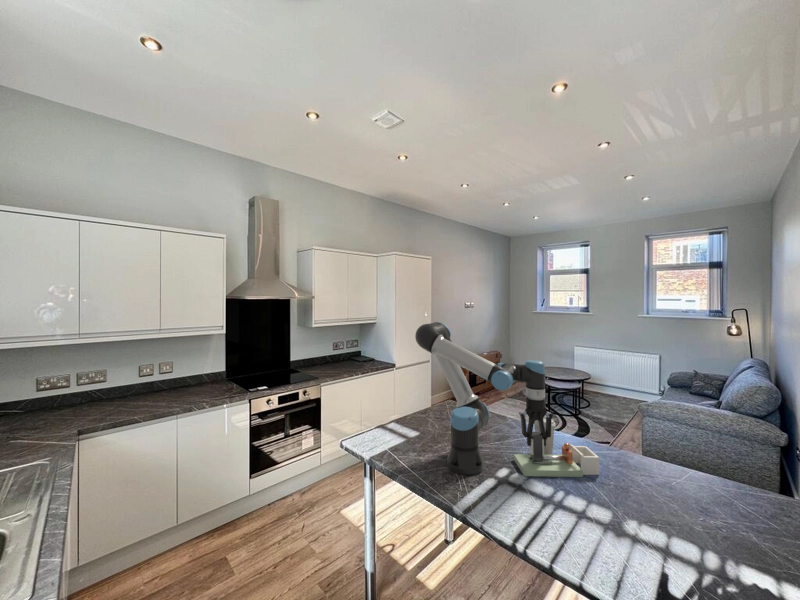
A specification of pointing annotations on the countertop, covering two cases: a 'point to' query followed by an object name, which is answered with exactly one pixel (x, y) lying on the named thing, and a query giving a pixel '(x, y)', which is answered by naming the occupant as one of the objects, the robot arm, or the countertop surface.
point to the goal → (585, 459)
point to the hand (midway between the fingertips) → (536, 453)
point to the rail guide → (540, 461)
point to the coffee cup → (549, 442)
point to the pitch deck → (547, 467)
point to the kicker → (539, 456)
